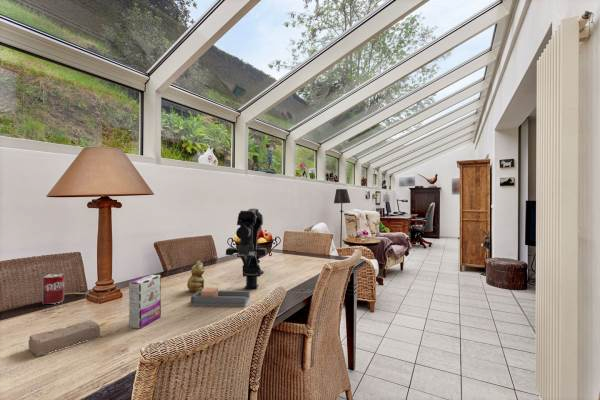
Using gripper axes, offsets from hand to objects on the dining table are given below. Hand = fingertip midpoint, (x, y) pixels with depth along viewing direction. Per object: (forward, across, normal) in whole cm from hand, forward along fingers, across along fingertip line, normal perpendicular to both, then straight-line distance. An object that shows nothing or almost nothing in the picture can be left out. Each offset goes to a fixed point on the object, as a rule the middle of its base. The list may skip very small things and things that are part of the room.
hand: (246, 269), depth 137 cm
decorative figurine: (+13, -27, +8) cm, 31 cm away
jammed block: (+12, -15, -7) cm, 20 cm away
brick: (+14, -49, -46) cm, 68 cm away
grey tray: (+13, -10, -7) cm, 18 cm away
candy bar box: (+13, -32, -30) cm, 46 cm away
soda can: (+13, -83, -11) cm, 85 cm away
